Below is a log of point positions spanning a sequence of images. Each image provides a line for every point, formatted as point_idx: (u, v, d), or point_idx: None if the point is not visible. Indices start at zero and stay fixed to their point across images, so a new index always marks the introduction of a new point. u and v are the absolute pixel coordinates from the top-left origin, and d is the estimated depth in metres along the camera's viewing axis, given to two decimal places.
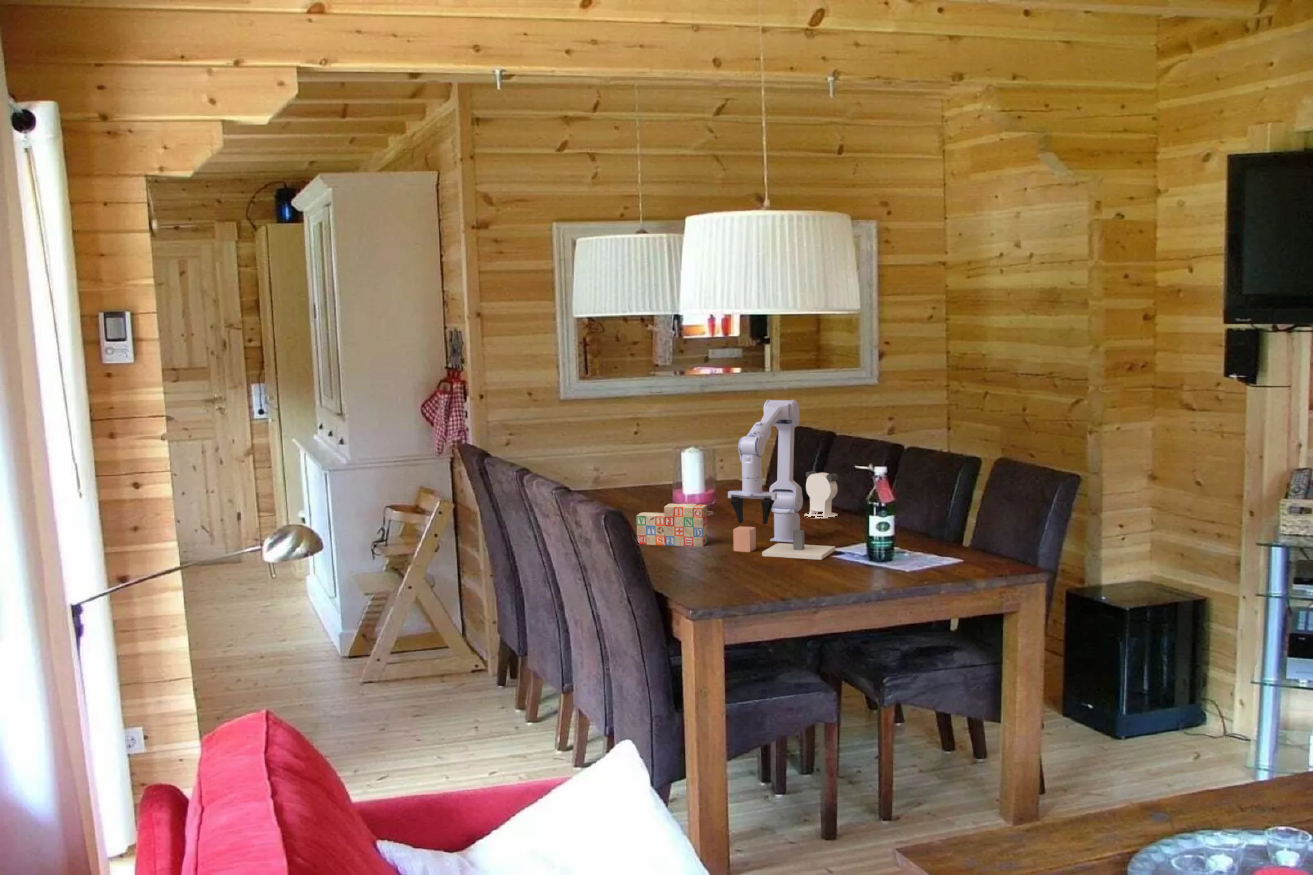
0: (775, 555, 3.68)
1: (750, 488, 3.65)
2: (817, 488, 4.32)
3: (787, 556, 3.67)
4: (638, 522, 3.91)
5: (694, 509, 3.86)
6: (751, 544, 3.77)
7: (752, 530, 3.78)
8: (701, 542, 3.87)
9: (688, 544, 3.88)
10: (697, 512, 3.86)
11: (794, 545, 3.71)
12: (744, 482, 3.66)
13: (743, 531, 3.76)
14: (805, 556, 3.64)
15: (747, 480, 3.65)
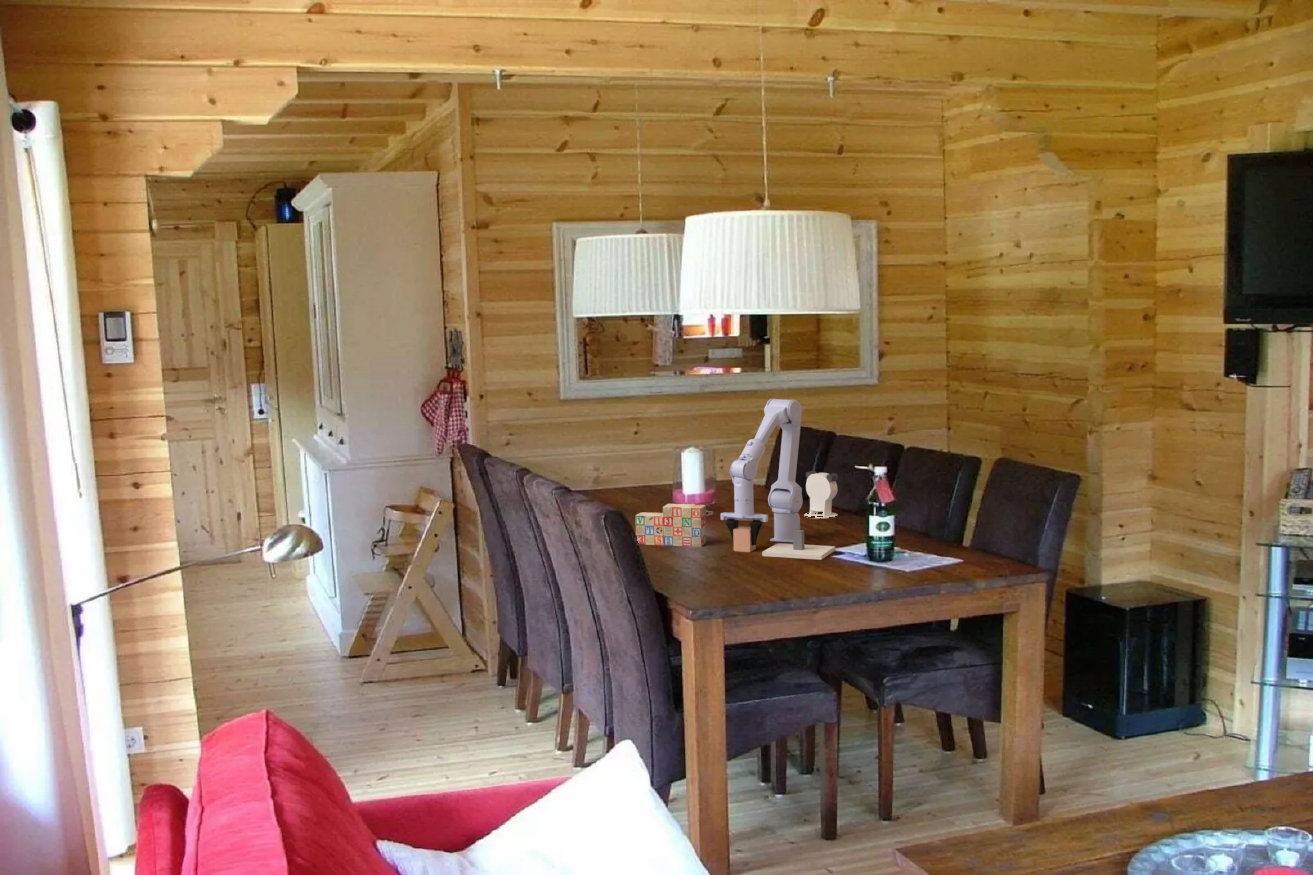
0: (775, 555, 3.68)
1: (742, 511, 3.75)
2: (817, 488, 4.32)
3: (787, 556, 3.67)
4: (637, 522, 3.92)
5: (692, 509, 3.86)
6: (751, 544, 3.77)
7: None
8: (699, 542, 3.86)
9: (686, 544, 3.88)
10: (695, 513, 3.86)
11: (794, 545, 3.71)
12: (736, 504, 3.76)
13: (743, 531, 3.76)
14: (805, 556, 3.64)
15: (739, 502, 3.75)
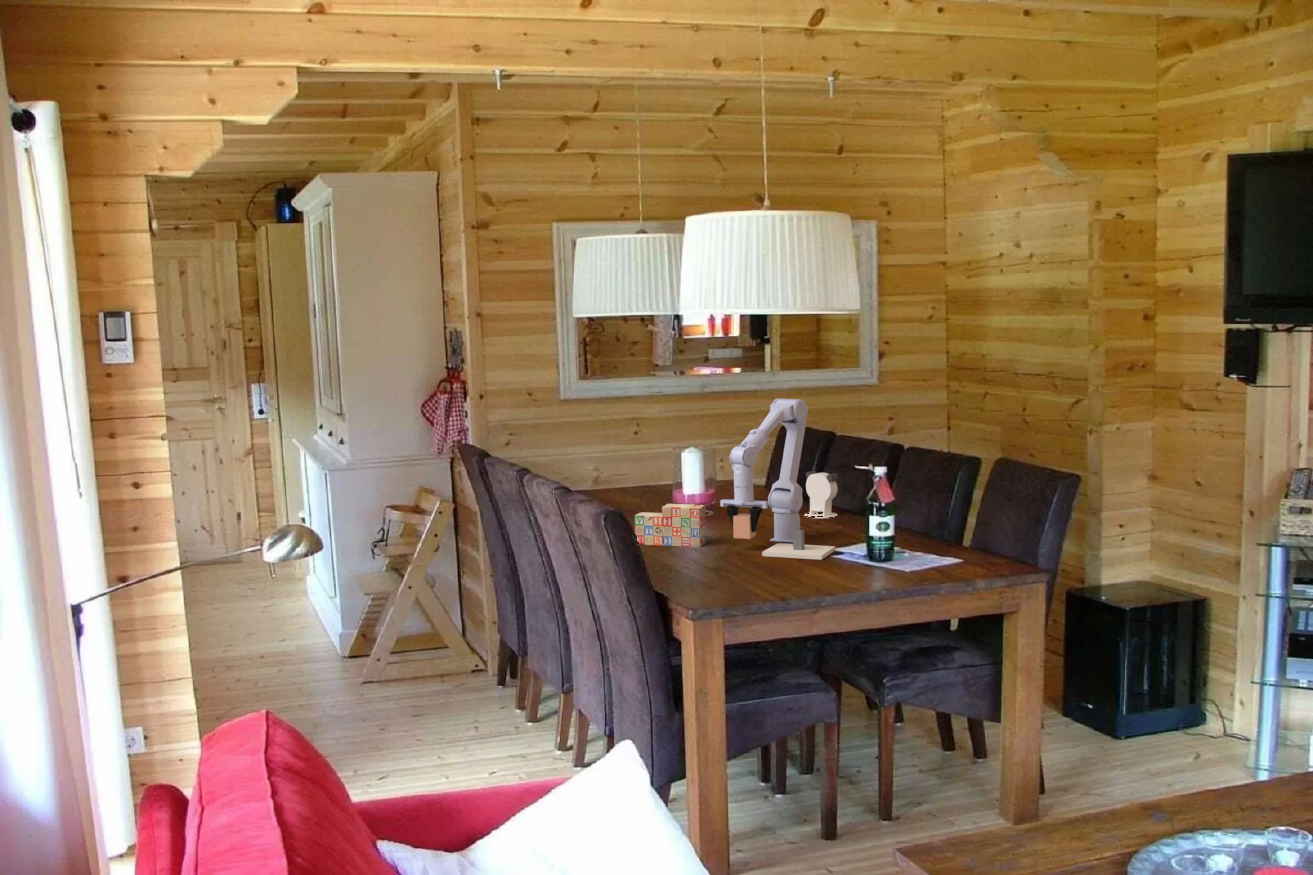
0: (775, 555, 3.68)
1: (741, 497, 3.75)
2: (817, 488, 4.32)
3: (787, 556, 3.67)
4: (636, 522, 3.92)
5: (691, 509, 3.85)
6: (751, 531, 3.76)
7: None
8: (698, 543, 3.86)
9: (685, 544, 3.87)
10: (694, 513, 3.85)
11: (794, 545, 3.71)
12: (736, 491, 3.76)
13: (743, 518, 3.76)
14: (805, 556, 3.64)
15: (739, 489, 3.75)
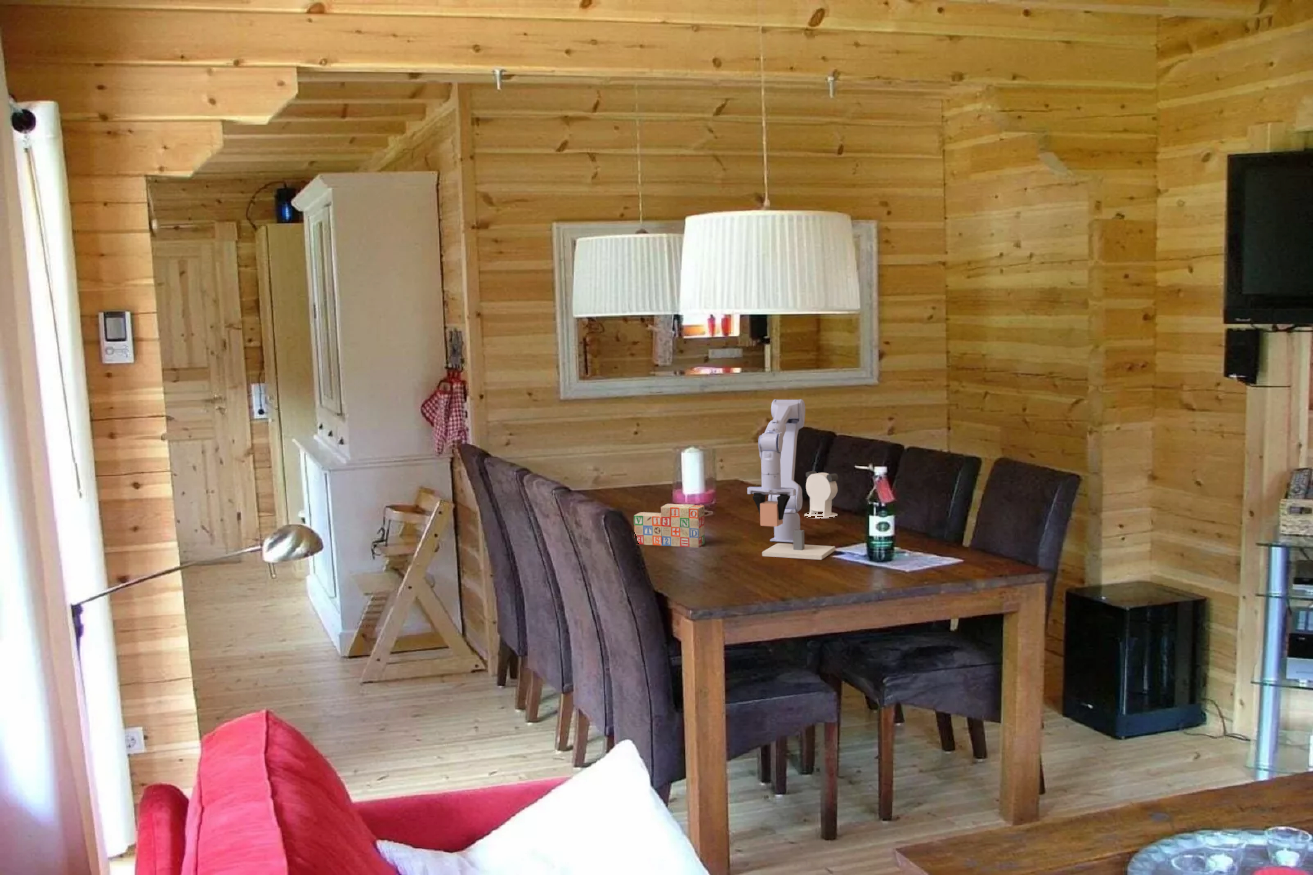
0: (775, 555, 3.68)
1: (769, 484, 3.71)
2: (817, 488, 4.32)
3: (787, 556, 3.67)
4: (636, 522, 3.92)
5: (690, 510, 3.85)
6: (778, 519, 3.72)
7: None
8: (697, 543, 3.85)
9: (684, 545, 3.87)
10: (693, 513, 3.85)
11: (794, 545, 3.71)
12: (763, 478, 3.72)
13: (770, 505, 3.72)
14: (805, 556, 3.64)
15: (766, 476, 3.71)
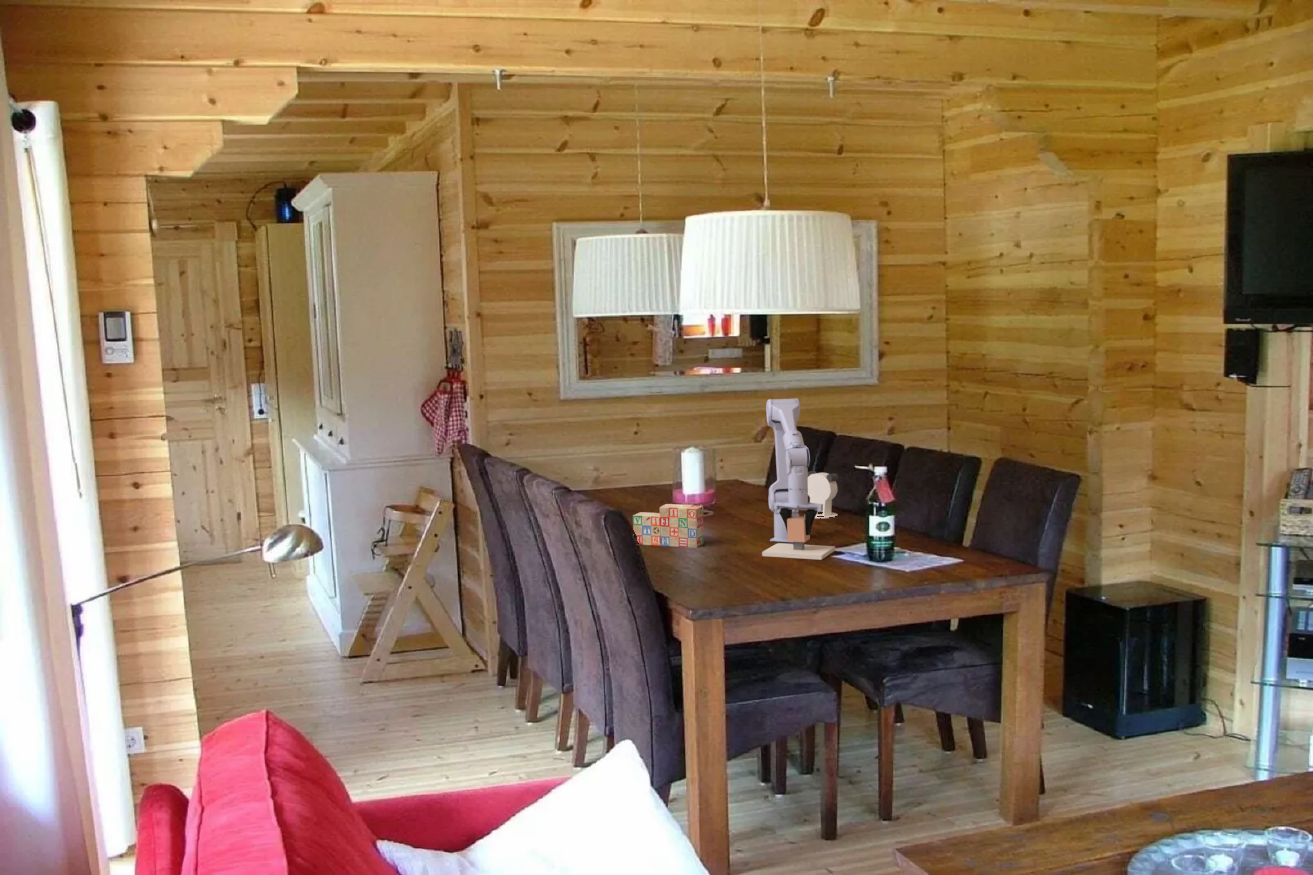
0: (775, 555, 3.68)
1: (796, 500, 3.68)
2: (817, 488, 4.32)
3: (787, 556, 3.67)
4: (635, 522, 3.92)
5: (688, 510, 3.85)
6: (805, 534, 3.69)
7: None
8: (695, 543, 3.85)
9: (683, 545, 3.87)
10: (691, 513, 3.85)
11: (794, 545, 3.71)
12: (790, 493, 3.69)
13: (797, 521, 3.69)
14: (805, 556, 3.64)
15: (793, 491, 3.68)
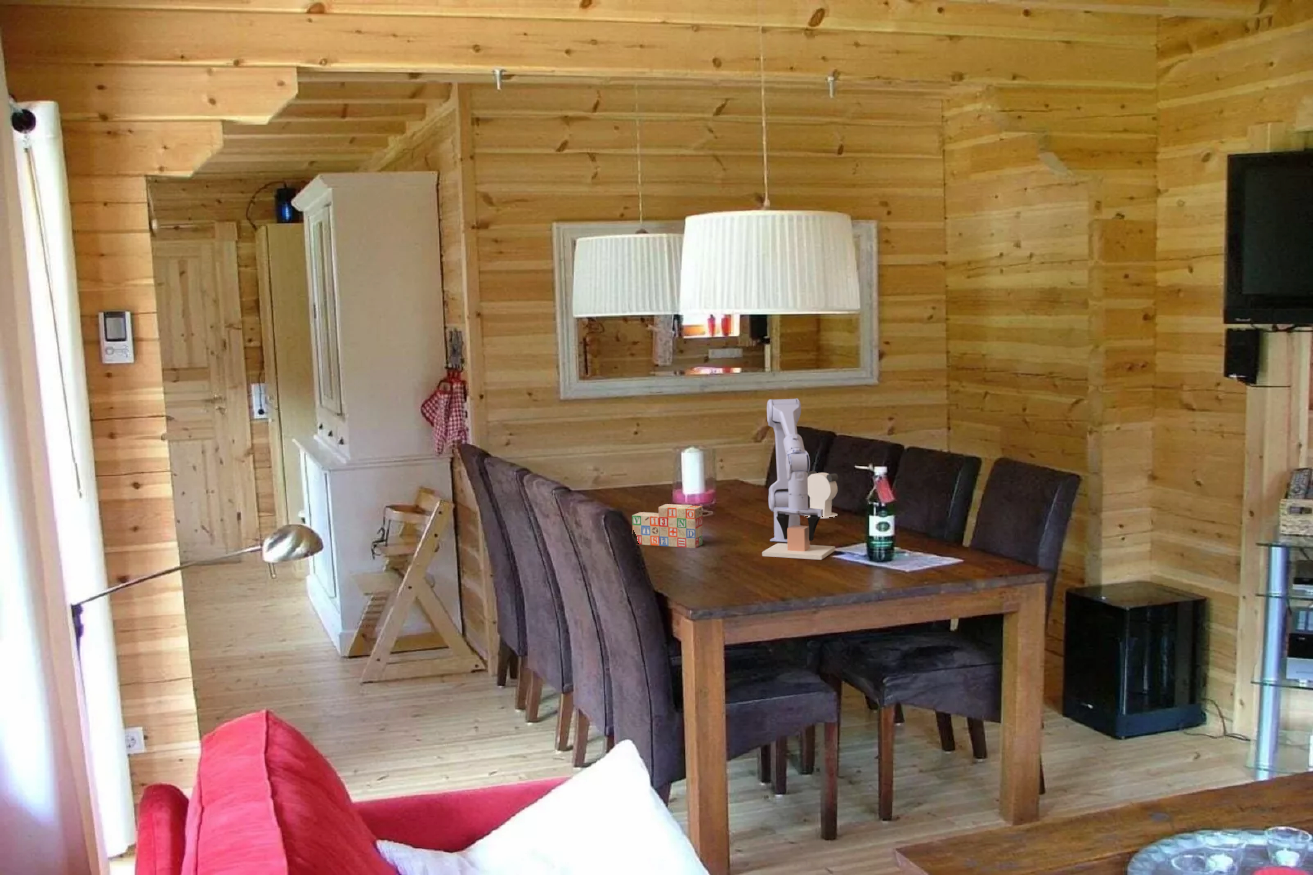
0: (775, 555, 3.68)
1: (796, 505, 3.68)
2: (817, 488, 4.32)
3: (787, 556, 3.67)
4: (634, 522, 3.92)
5: (687, 510, 3.84)
6: (805, 543, 3.70)
7: (806, 529, 3.70)
8: (694, 543, 3.85)
9: (681, 545, 3.87)
10: (690, 513, 3.84)
11: None
12: (790, 499, 3.69)
13: (797, 530, 3.69)
14: (805, 556, 3.64)
15: (793, 497, 3.68)
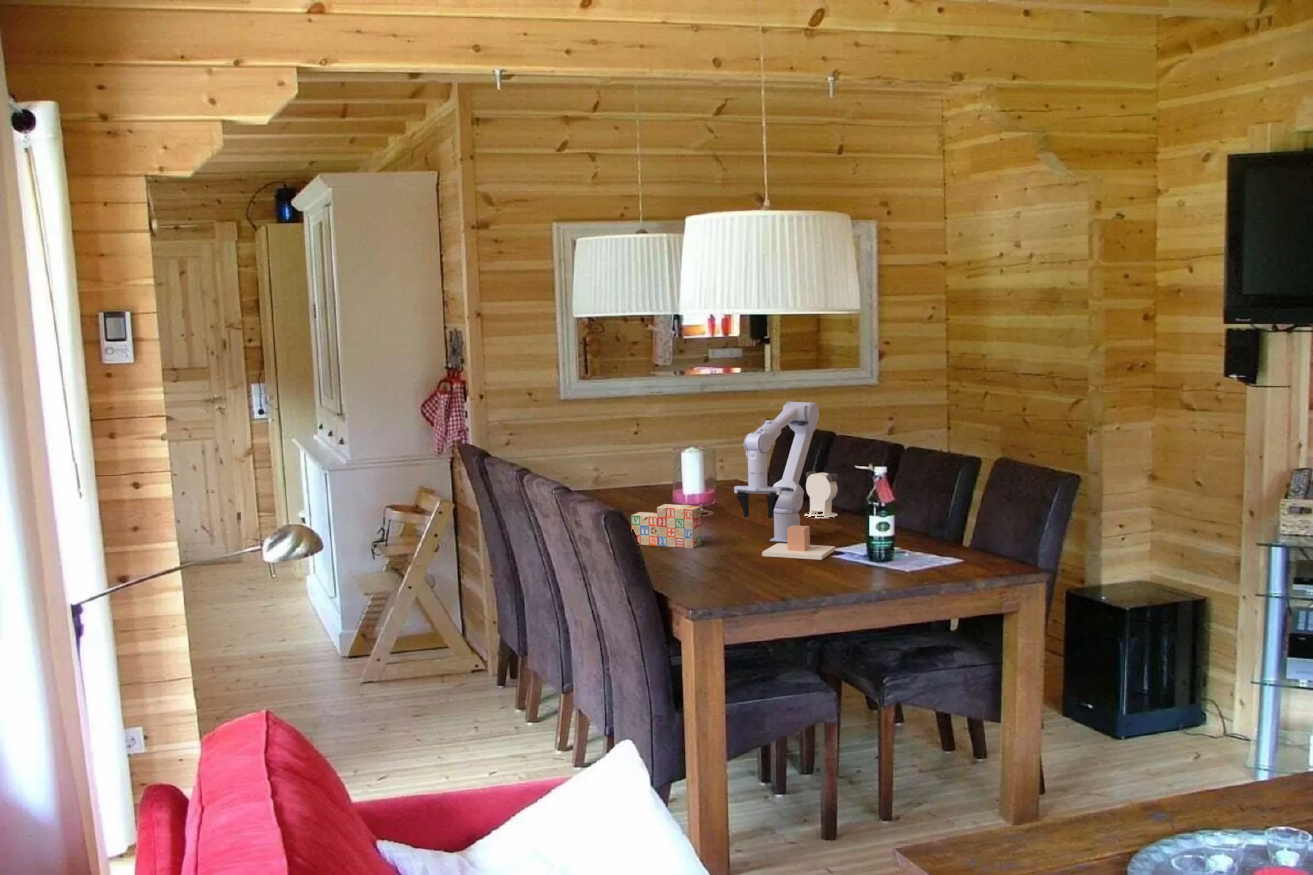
0: (775, 555, 3.68)
1: (755, 483, 3.77)
2: (817, 488, 4.32)
3: (787, 556, 3.67)
4: (633, 522, 3.92)
5: (685, 510, 3.84)
6: (805, 543, 3.70)
7: (806, 529, 3.70)
8: (691, 544, 3.84)
9: (679, 545, 3.86)
10: (688, 514, 3.84)
11: None
12: (750, 477, 3.78)
13: (797, 530, 3.69)
14: (805, 556, 3.64)
15: (753, 475, 3.77)
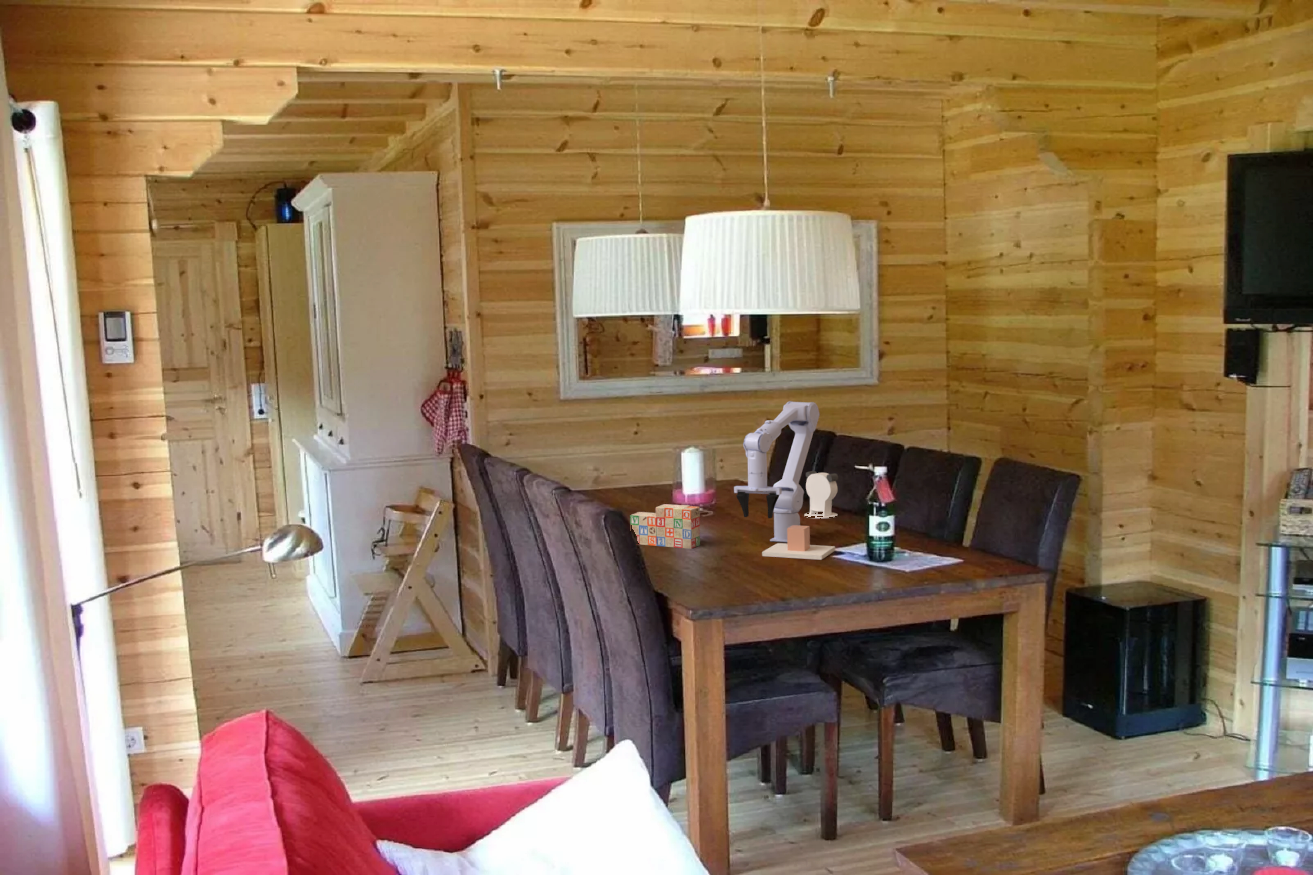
0: (775, 555, 3.68)
1: (755, 483, 3.77)
2: (817, 488, 4.32)
3: (787, 556, 3.67)
4: (632, 522, 3.93)
5: (683, 511, 3.84)
6: (805, 543, 3.70)
7: (806, 529, 3.70)
8: (690, 544, 3.84)
9: (678, 546, 3.86)
10: (686, 514, 3.83)
11: None
12: (750, 477, 3.78)
13: (797, 530, 3.69)
14: (805, 556, 3.64)
15: (753, 475, 3.77)
